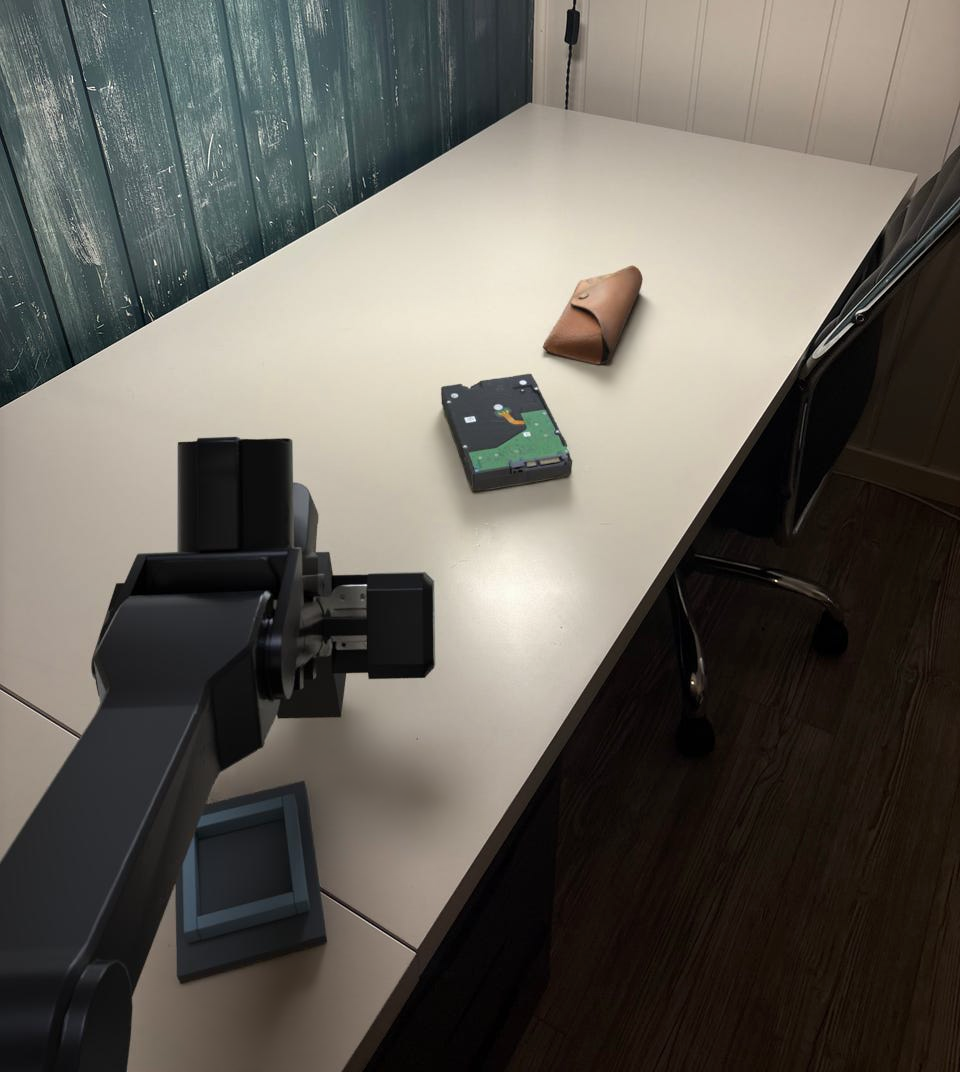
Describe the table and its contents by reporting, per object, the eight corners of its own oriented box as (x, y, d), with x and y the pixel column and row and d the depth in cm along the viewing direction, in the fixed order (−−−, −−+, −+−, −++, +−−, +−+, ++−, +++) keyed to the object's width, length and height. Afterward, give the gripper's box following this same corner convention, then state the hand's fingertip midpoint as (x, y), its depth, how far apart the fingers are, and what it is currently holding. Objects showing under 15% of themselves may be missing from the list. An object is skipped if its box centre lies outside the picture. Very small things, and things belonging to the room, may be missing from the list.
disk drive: (439, 407, 103) (472, 495, 92) (438, 386, 101) (471, 473, 90) (530, 392, 105) (574, 476, 93) (531, 371, 103) (575, 454, 92)
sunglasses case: (577, 277, 123) (606, 241, 119) (620, 308, 124) (651, 273, 120) (539, 350, 110) (570, 313, 106) (588, 385, 111) (620, 349, 106)
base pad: (327, 942, 59) (323, 924, 58) (180, 983, 58) (171, 966, 56) (306, 787, 68) (301, 768, 66) (176, 819, 66) (169, 799, 64)
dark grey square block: (341, 717, 67) (321, 602, 59) (277, 719, 67) (249, 604, 59) (347, 665, 70) (329, 551, 63) (286, 667, 70) (261, 552, 63)
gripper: (425, 482, 51) (437, 497, 67) (78, 489, 51) (171, 502, 66) (428, 694, 50) (440, 659, 65) (72, 702, 50) (168, 665, 65)
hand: (304, 616), depth 66 cm, fingers closed on dark grey square block, 4 cm apart
